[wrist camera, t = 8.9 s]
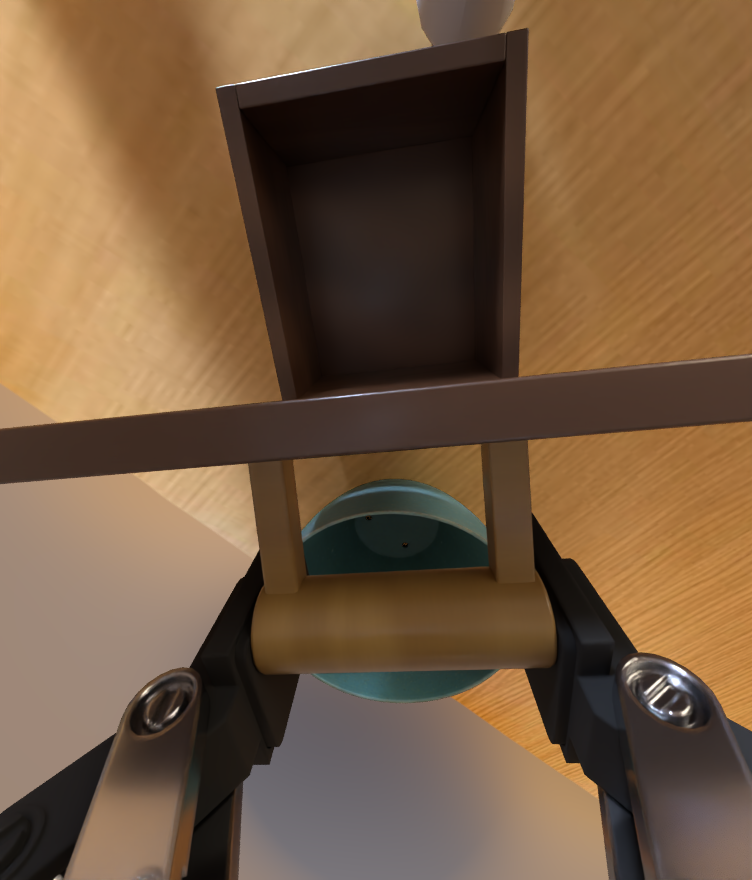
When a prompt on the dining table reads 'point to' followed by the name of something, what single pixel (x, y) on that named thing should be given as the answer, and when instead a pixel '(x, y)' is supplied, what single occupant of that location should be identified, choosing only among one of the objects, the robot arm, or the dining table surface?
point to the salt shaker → (462, 19)
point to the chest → (387, 215)
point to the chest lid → (383, 430)
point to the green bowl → (396, 566)
